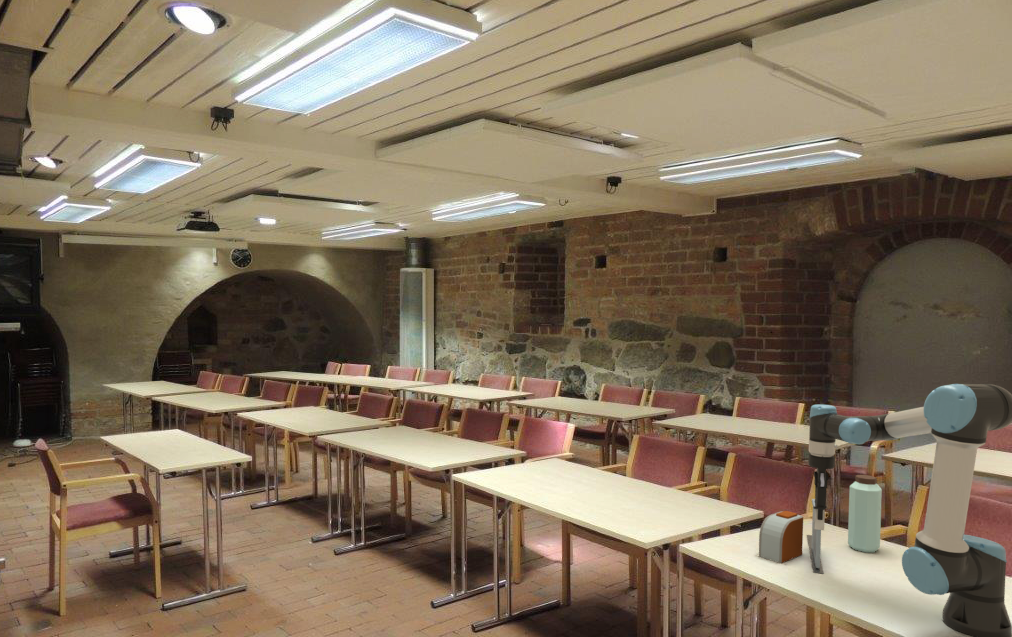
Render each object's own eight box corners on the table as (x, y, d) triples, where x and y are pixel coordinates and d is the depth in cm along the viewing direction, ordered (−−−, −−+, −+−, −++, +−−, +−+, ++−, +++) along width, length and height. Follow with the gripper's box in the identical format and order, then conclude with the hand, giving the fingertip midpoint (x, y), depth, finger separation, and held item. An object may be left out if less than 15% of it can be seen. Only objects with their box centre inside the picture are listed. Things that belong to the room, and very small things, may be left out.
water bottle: (841, 545, 246) (843, 474, 245) (860, 542, 250) (863, 472, 249) (866, 555, 236) (868, 481, 236) (886, 551, 241) (888, 479, 240)
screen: (821, 568, 221) (822, 516, 221) (814, 567, 222) (816, 515, 222) (816, 546, 242) (818, 499, 242) (810, 546, 243) (811, 498, 242)
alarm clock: (780, 547, 243) (781, 508, 243) (804, 554, 236) (805, 514, 236) (757, 555, 233) (758, 515, 233) (781, 563, 227) (782, 521, 226)
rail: (823, 573, 218) (823, 573, 218) (813, 572, 219) (813, 571, 219) (815, 536, 255) (815, 535, 255) (806, 535, 256) (806, 534, 256)
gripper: (837, 459, 212) (834, 537, 212) (832, 451, 224) (830, 524, 225) (810, 457, 214) (807, 533, 215) (807, 449, 227) (805, 521, 227)
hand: (819, 529), depth 220 cm, fingers closed
